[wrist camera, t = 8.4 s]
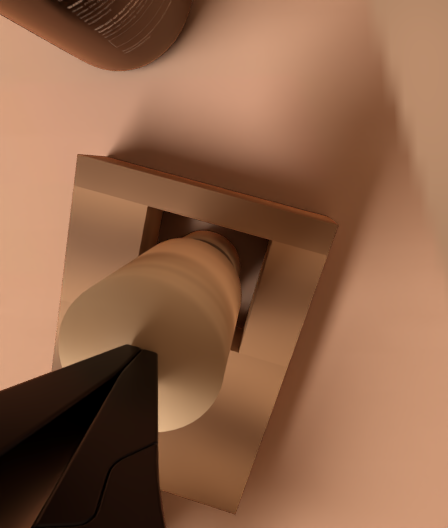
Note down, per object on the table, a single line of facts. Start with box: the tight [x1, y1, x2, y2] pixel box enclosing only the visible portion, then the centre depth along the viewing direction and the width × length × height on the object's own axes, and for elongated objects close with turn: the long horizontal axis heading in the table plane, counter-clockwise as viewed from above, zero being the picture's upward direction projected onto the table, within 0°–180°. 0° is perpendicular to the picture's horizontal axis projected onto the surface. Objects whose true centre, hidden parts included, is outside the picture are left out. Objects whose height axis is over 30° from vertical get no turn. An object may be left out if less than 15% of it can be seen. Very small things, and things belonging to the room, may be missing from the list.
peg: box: [58, 231, 242, 432], centre depth 13 cm, size 4×4×9 cm
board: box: [52, 154, 338, 514], centre depth 17 cm, size 16×11×2 cm
